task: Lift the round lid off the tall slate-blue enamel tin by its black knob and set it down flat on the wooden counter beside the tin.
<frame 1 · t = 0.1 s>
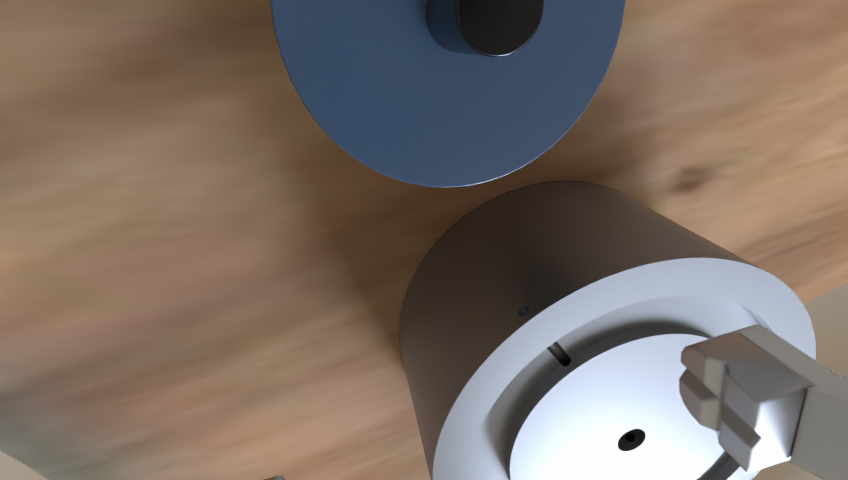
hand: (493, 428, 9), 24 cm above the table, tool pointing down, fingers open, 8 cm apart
container: (539, 317, 39), on the table
tin lid: (455, 14, 16), point 13 cm above the table, touching tin
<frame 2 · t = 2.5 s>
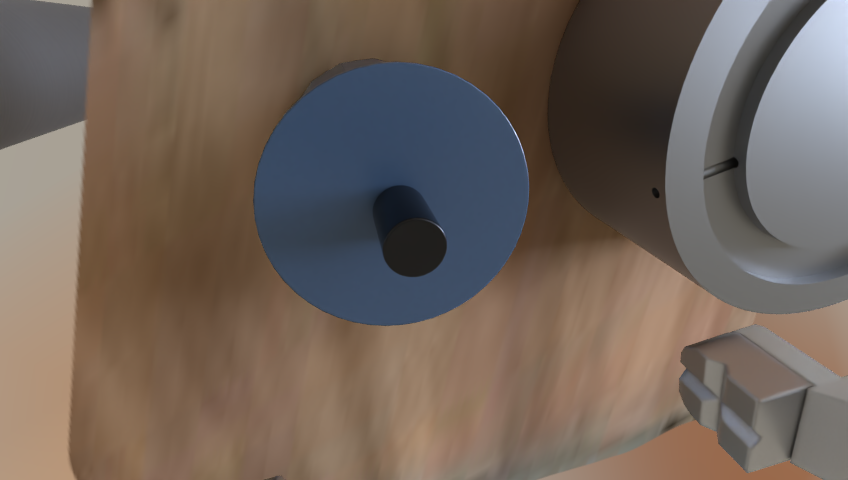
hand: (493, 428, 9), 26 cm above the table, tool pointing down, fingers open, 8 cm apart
container: (693, 88, 36), on the table
tin: (370, 142, 32), on the table
tin lid: (397, 206, 20), point 13 cm above the table, touching tin
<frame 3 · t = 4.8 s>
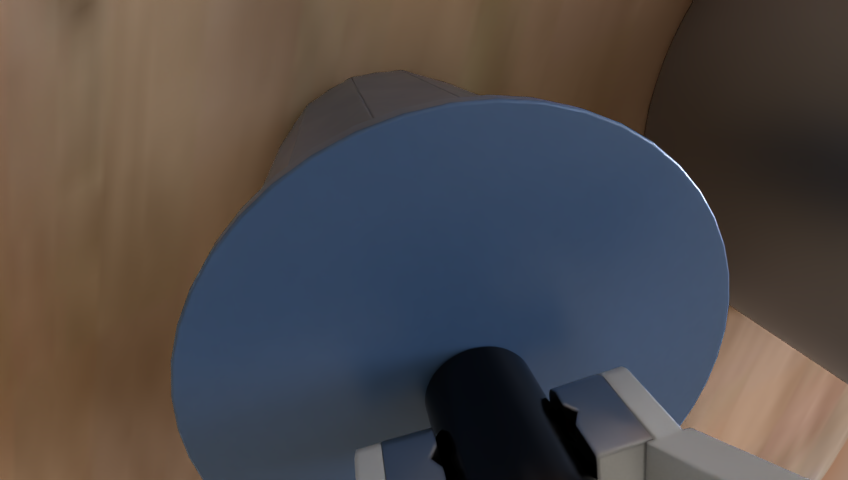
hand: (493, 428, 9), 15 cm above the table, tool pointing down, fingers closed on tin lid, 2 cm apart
container: (839, 108, 26), on the table
tin: (393, 190, 22), on the table
tin lid: (470, 370, 10), point 14 cm above the table, touching gripper, tin
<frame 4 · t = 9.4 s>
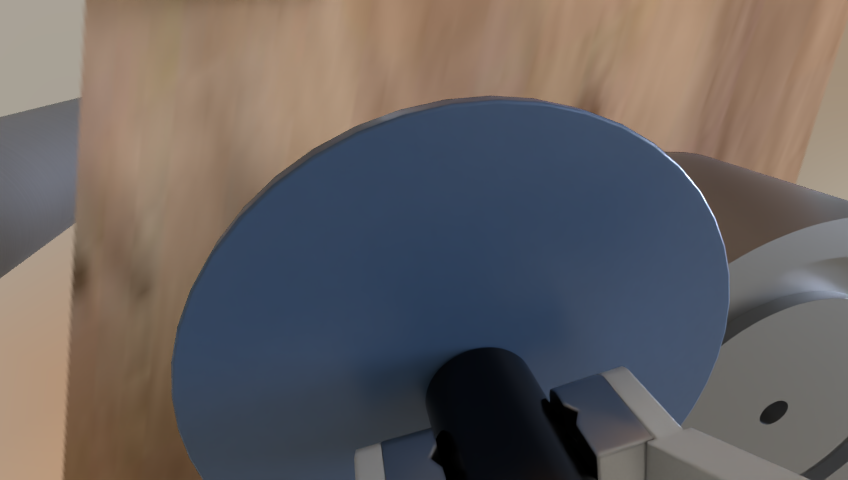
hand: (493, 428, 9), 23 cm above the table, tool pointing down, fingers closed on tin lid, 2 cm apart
container: (634, 295, 39), on the table
tin lid: (470, 371, 10), point 21 cm above the table, touching gripper
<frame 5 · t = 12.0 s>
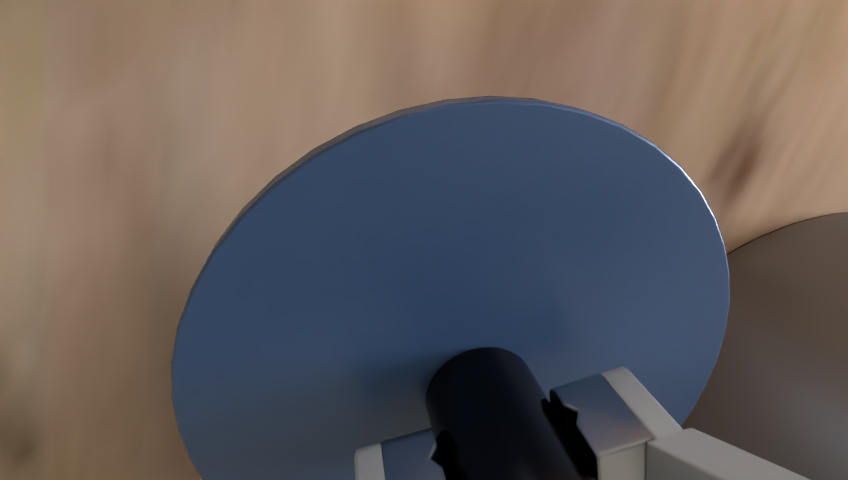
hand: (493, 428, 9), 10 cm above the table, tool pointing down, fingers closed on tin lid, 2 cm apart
container: (763, 404, 27), on the table
tin lid: (470, 371, 10), point 8 cm above the table, touching gripper
when the fingers open (2 cm above the table, at t = 13.9 s): tin lid stays where it is, point 1 cm above the table.
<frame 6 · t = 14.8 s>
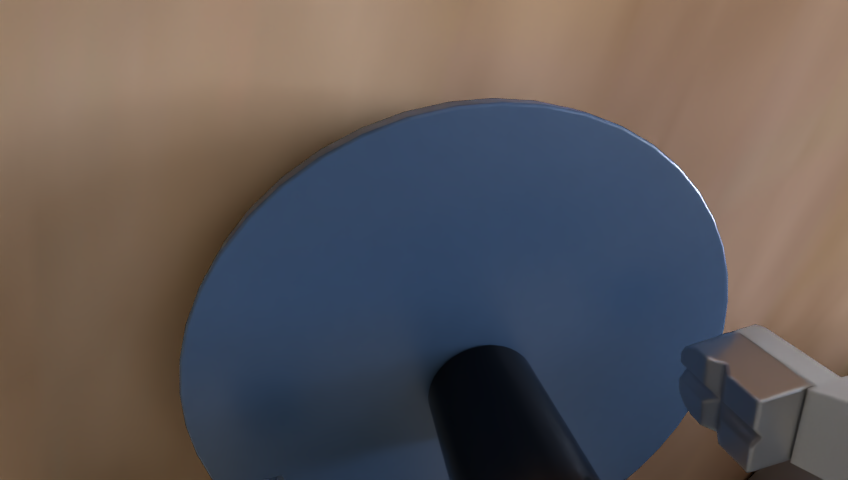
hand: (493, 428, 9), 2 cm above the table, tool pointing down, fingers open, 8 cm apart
tin lid: (472, 369, 10), point 1 cm above the table
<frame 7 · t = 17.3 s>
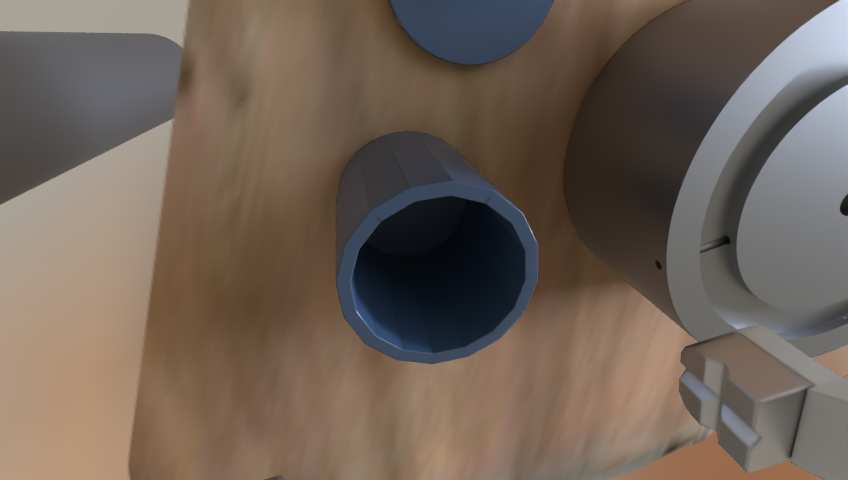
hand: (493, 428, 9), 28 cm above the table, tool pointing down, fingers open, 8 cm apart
container: (696, 151, 40), on the table
tin: (407, 200, 37), on the table
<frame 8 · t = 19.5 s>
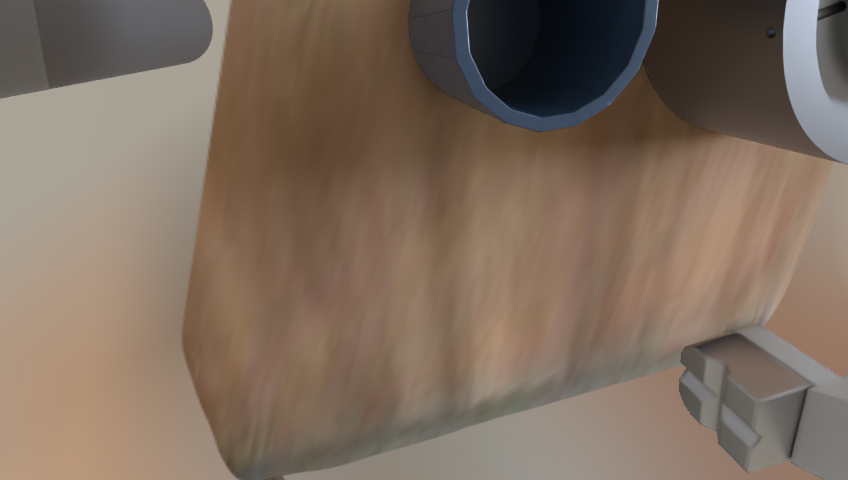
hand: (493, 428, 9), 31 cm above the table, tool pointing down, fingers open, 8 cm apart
tin: (479, 25, 35), on the table
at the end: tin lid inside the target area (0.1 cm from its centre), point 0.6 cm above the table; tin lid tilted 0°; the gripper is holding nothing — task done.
